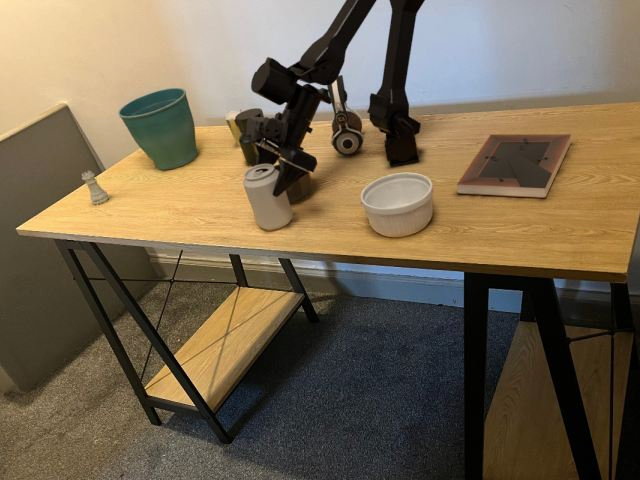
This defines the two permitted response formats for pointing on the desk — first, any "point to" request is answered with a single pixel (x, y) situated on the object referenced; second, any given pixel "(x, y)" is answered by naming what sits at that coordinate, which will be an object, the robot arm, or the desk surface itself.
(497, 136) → the picture frame
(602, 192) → the desk surface
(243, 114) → the ink bottle
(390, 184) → the ramekin
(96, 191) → the rook chess piece
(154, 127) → the flower pot
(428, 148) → the desk surface
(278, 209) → the can
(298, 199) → the bowl
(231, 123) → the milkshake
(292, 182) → the robot arm
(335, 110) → the headset
